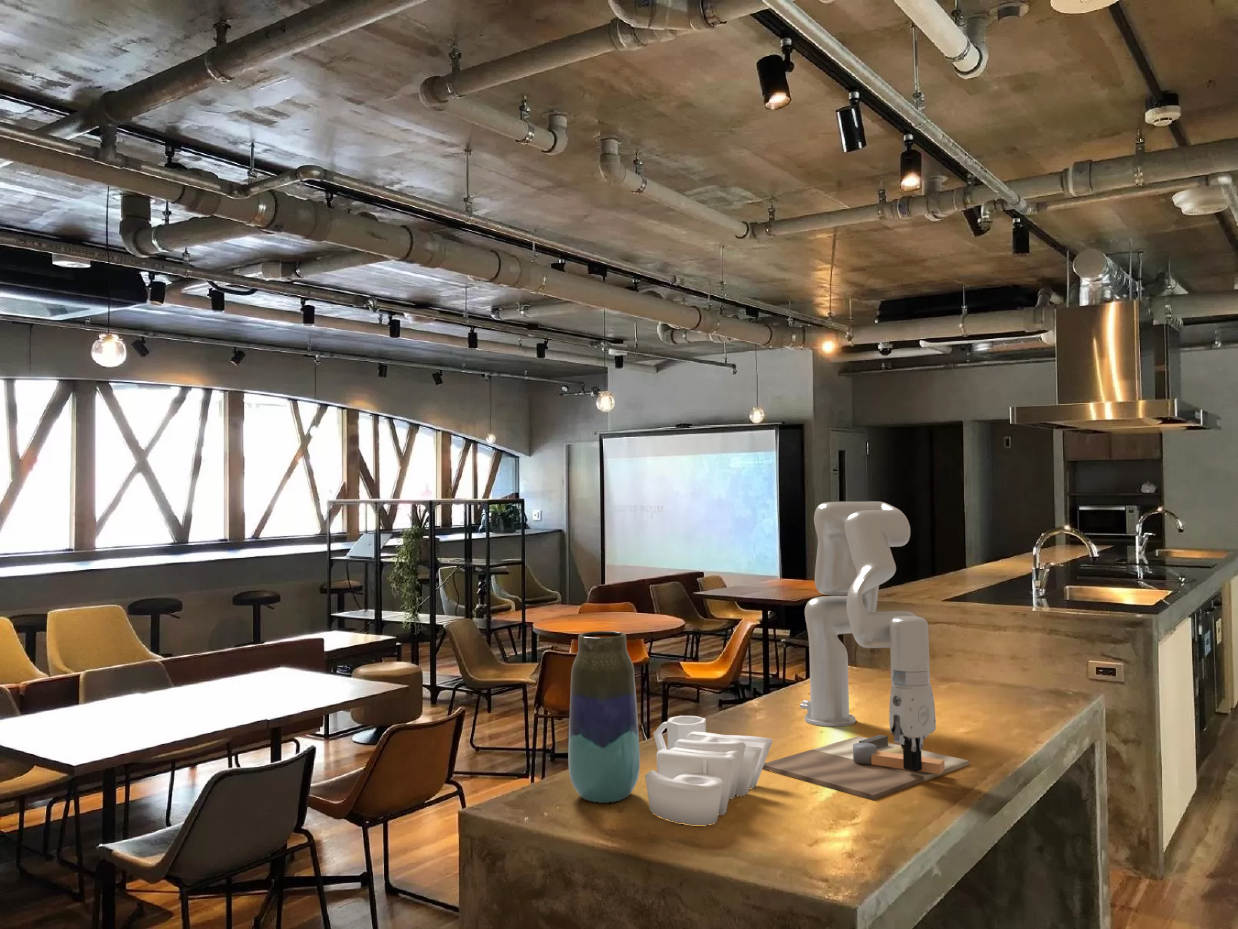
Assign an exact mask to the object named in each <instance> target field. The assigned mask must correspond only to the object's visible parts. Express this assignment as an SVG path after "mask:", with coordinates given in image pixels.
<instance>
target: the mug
mask: <svg viewBox="0 0 1238 929" xmlns="http://www.w3.org/2000/svg"><path fill="white" fill-rule="evenodd" d="M706 725H707V719H706V718H705V717H701V716H696V715H678V716H677V715H676V716H673V717H672V716H671V717H669V718H668V720H667V721H664V722H662V723H661V724H660V725H659V726H658V727H657V728H656V730H654V732H653V738H654V741H655V744H656V750H657V752H658V751H659V750H662V749H665V750H670V749H671V748H674V747H675V742H676V741H677V740H679V739H684V740H687V735H688V734H689V733H690V732H693V731H695V732H707V731H706V730H707V726H706ZM665 729H667V745H666V742H665V739H664V737H663V732H664V731H665Z"/></svg>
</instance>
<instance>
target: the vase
mask: <svg viewBox="0 0 1238 929" xmlns="http://www.w3.org/2000/svg"><path fill="white" fill-rule="evenodd" d="M577 642H578V643H577V644H578V646H577V649H578V650H577V654H576V656H575V658H574V661H573V663H572V666H571V672H570V693H569V695H570V696H569V721H568V724H569V725H568V750H567V751H568V753H567V754H568V757H567V758H568V772H569V773H568V774H569V778H570V782H571V784H572V786H573V788H574V789H575V790H574V791H576V792H577V794H578V795H579V796H580V797H581V798H582V799H583V800H585V801H587V800H588V801H589V802H590V803H591V802H593V803H596V802H598V804H607V803H608V804H609V802H611V803H616V801H617V802H619V801H622V799H623V800H624V799H626V798H628V797H629V796H630V795H631V793H632V792H633V791H634V789H635V786H636V785H637V782H638V781H639V776H640V768H641V767H640V766H641V765H640V764H641V759H640V758H641V757H640V756H641V754H640V753H641V752H640V736H639V735H640V734H639V720H638V707H637V706H638V705H637V694H636V693H637V692H636V681H635V680H636V678H635V677H636V676H635V666H634V664H633V661H632V659H631V657H630V655H629V652H628V650H627V647H628V646H627V635H626V634H625V633H624V632H621V631H612V630H607V631H606V630H602V631H601V630H599V631H588V632H584V633H580V634H579V635H578V640H577Z"/></svg>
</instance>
